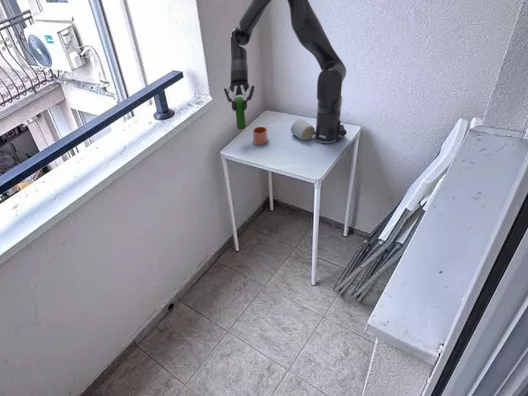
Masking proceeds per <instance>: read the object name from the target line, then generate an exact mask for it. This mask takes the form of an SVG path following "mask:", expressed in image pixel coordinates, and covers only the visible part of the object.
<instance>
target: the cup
mask: <svg viewBox="0 0 528 396" xmlns="http://www.w3.org/2000/svg"><path fill="white" fill-rule="evenodd" d="M252 136H253V137H252V139H253V144H254V145H258V146H261V145H265V144H267V142H268V129H267V128H266V127H265V126H256V127H254V128H253V130H252Z"/></svg>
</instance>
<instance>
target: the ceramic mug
mask: <svg viewBox="0 0 528 396" xmlns="http://www.w3.org/2000/svg"><path fill="white" fill-rule="evenodd" d="M290 133H291V134H292V135H294V136H296V137H297V138H299V139H300V140H301V141H309V140H310V139H312V138H313V136H314V135H315V136H316V128H315V127H314V125H311V124H310V123H308V122H307V121H306V120H304V119H303V118H299V119H296V120H295V121H294V122H293V123H292V125H291V127H290Z"/></svg>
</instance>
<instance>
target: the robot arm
mask: <svg viewBox="0 0 528 396" xmlns="http://www.w3.org/2000/svg"><path fill="white" fill-rule="evenodd" d="M271 2H272V0H251V1H250V4H249V5H248V6H247V8H246V10H245V11H244V13H243V14H242V16H241V17H240V19H239V22H238V26H239V27H238V26H235V27H236V28H234V29H233V32H232V37H231V53H230V85H229V87H227V88H226V87H225V88H223V90H224V91H223V92H224V95H225V96H226V99H227V102H228V103H231V109H232V111H233V112H236V109H235V99H236V98H237V97H238V96H242V98H243V100H244V111H246V110H247V109H248V102H249V101H251V100H252V98H253V95H254V92H255V89H256V86H255V85H250V84H249V68H248V67H249V66H248V51H247V49H246V48H245V46H247V45H248V44H249V43H250V42H251V38H252V35H253V32H254V29H255V28H256V27H257V25H258V24H259V22H260V21H261V20H262V19H263V15H264V13H265V11H266V8H268V5H269V4H270V3H271ZM286 2H287V4H288V8H289V16H290V17H289V19H290V26H291V30H292V31H293V33H294V35H295V36H296V39H297V41H298V42H299V44H300V45H301V46H302V47H303V48H304V49H306V50H307V51H308V52H309V53H310V54H312V55H313V57H314V58H315V60H316V61H317V64H318V66H319V67H320V70H321V71H320V72H319V74H318V77H317V83H316V99H317V106H316V108H317V110H316V124H315V130H316V134H315V137H314V138H315V141H317V142H318V143H320V144H333V143H335V142H339V141H340V137H341V138H343V137H345V136H346V135H347V130H346V129H345V126H344V124H342V123H341V122H342V121H341V113H342V112H341V111H342V104H343V103H342V102H343V96H342V88H343V82H344V80H345V79H346V76H347V68H346V65H345V64H344V62H343V61H342V59H341V58H340V56H339V55H338V53H336V51H335V49H334V48H333V46H332V44H331V41H330V39H329V37H328V36H327V33H326V32H325V30H324V28H323V26H322V24H321V22H320V20H319V18H318V15H317V14H316V13H315V11H314V9H313V7H312V6H311V3H310V0H286ZM248 89H249V93H248V96H247V94H246V93H247V91H248ZM230 91H231V93H232V97H230Z"/></svg>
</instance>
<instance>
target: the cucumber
mask: <svg viewBox="0 0 528 396" xmlns="http://www.w3.org/2000/svg"><path fill="white" fill-rule="evenodd" d="M235 118H236V120H235V121H236V128H237V130H244V129H246V126H247V125H246V114H245V110H244V98H243V96H237V97H236V99H235Z"/></svg>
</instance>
